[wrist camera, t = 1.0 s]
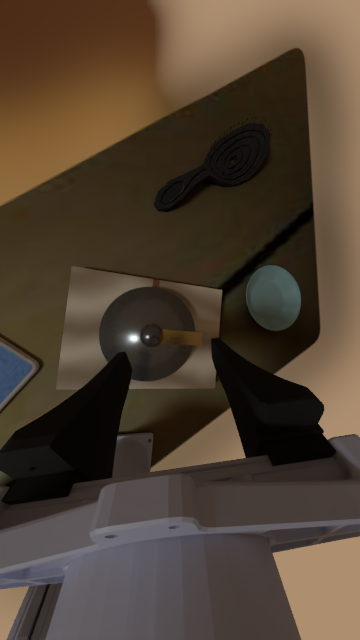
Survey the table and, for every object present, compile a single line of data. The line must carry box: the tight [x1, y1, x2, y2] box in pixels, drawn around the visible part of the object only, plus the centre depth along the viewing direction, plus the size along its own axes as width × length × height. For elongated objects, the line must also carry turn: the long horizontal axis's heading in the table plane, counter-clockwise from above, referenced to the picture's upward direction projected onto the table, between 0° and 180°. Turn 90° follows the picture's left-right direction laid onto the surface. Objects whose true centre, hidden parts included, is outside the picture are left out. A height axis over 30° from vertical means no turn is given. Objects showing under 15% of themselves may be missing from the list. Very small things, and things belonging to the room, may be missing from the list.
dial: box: [99, 287, 203, 381], centre depth 19 cm, size 13×13×5 cm
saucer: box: [246, 265, 301, 331], centre depth 28 cm, size 12×12×2 cm
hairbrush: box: [154, 117, 272, 212], centre depth 26 cm, size 8×4×25 cm
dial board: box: [56, 266, 222, 389], centre depth 22 cm, size 16×22×2 cm
